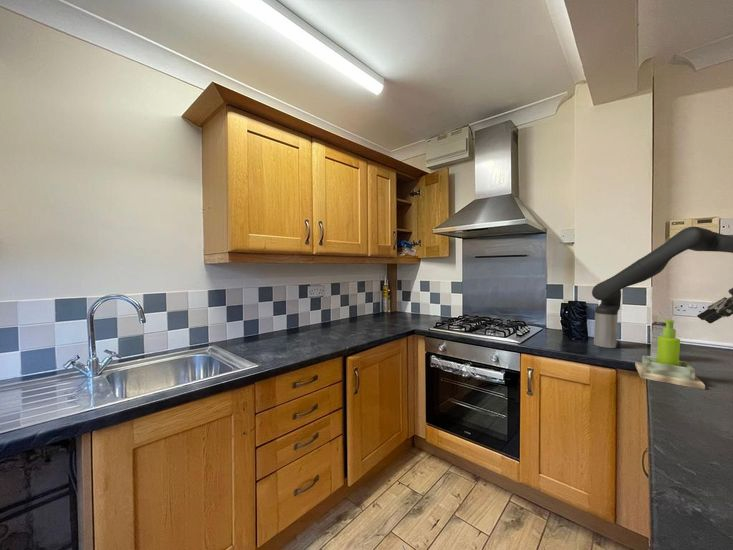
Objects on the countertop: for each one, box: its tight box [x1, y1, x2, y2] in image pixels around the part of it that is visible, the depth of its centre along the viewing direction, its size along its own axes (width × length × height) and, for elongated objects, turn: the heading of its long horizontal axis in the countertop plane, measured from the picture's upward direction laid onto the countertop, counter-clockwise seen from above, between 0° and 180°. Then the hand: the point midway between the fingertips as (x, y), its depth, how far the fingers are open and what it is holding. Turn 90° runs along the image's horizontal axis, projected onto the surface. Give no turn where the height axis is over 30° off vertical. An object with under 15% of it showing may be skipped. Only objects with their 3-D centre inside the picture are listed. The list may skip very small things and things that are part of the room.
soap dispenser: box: [657, 318, 681, 366], centre depth 112 cm, size 6×7×20 cm
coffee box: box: [650, 321, 666, 357], centre depth 136 cm, size 9×6×16 cm
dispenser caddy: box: [634, 355, 706, 390], centre depth 112 cm, size 16×18×6 cm
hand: (702, 319), depth 106 cm, fingers open, 8 cm apart
